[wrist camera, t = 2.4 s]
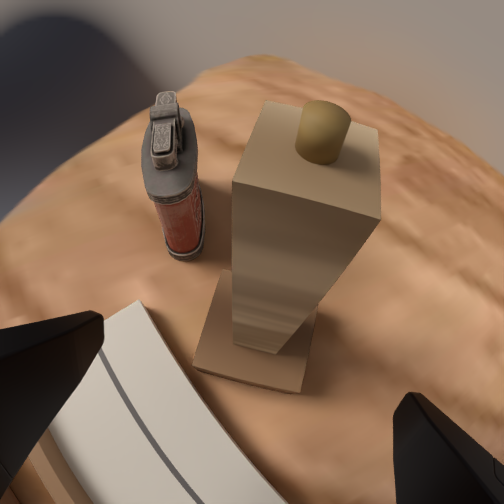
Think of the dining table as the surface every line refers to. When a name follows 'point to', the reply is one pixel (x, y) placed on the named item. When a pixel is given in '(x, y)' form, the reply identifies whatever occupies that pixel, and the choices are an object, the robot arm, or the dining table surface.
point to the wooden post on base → (289, 240)
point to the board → (142, 431)
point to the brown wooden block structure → (9, 497)
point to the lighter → (174, 176)
